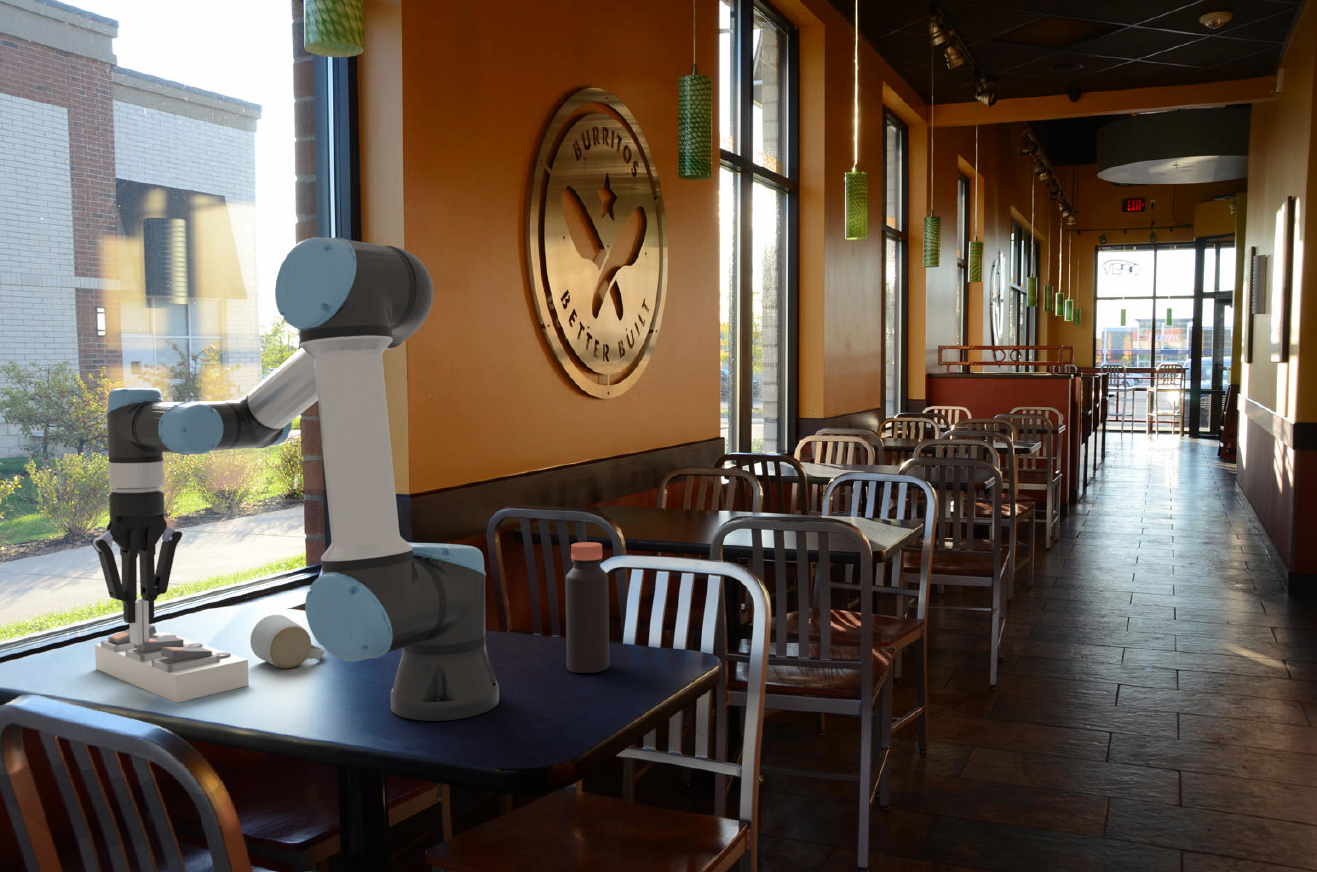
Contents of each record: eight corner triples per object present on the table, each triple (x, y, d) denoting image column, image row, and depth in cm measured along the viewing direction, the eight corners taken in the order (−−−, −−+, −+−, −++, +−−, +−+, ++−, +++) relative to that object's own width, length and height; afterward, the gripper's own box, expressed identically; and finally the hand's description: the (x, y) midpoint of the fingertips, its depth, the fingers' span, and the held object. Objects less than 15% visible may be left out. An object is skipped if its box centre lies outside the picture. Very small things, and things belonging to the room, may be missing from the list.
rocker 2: (210, 659, 159) (212, 650, 159) (171, 659, 155) (173, 650, 155) (199, 655, 161) (201, 646, 162) (160, 655, 157) (162, 646, 157)
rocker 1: (156, 632, 171) (154, 625, 170) (119, 647, 166) (117, 640, 166) (146, 629, 173) (144, 622, 173) (109, 644, 169) (107, 636, 168)
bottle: (608, 674, 165) (607, 547, 164) (565, 675, 165) (563, 548, 164) (610, 662, 172) (608, 540, 170) (568, 663, 172) (566, 541, 170)
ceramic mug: (271, 674, 167) (270, 626, 166) (249, 664, 172) (249, 617, 172) (333, 662, 174) (333, 616, 174) (311, 653, 180) (310, 608, 179)
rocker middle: (183, 647, 165) (183, 639, 165) (144, 651, 160) (144, 642, 160) (172, 643, 167) (173, 635, 167) (133, 647, 163) (134, 639, 163)
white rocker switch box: (248, 685, 161) (247, 653, 160) (176, 702, 152) (175, 669, 152) (164, 654, 179) (163, 626, 178) (96, 668, 170) (94, 638, 170)
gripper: (168, 484, 168) (171, 630, 169) (80, 490, 158) (83, 646, 159) (191, 488, 163) (193, 638, 164) (101, 494, 153) (104, 655, 154)
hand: (139, 642), depth 162 cm, fingers closed
